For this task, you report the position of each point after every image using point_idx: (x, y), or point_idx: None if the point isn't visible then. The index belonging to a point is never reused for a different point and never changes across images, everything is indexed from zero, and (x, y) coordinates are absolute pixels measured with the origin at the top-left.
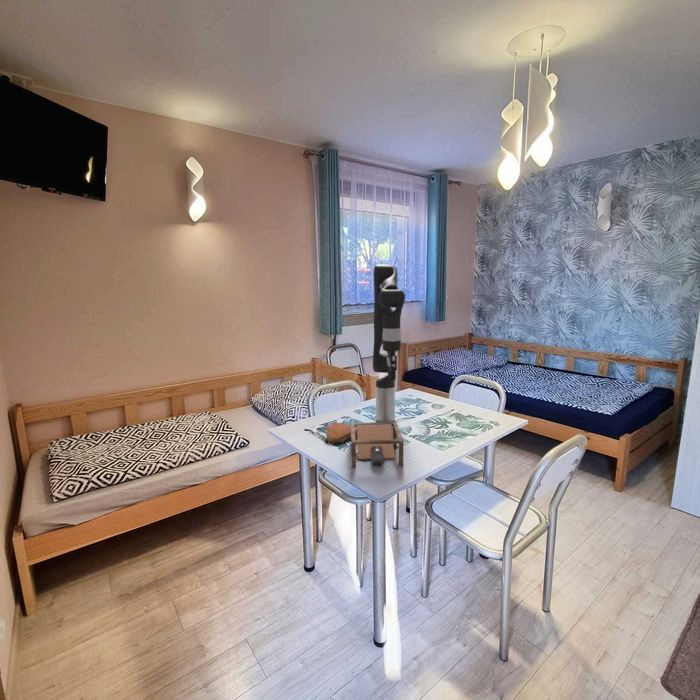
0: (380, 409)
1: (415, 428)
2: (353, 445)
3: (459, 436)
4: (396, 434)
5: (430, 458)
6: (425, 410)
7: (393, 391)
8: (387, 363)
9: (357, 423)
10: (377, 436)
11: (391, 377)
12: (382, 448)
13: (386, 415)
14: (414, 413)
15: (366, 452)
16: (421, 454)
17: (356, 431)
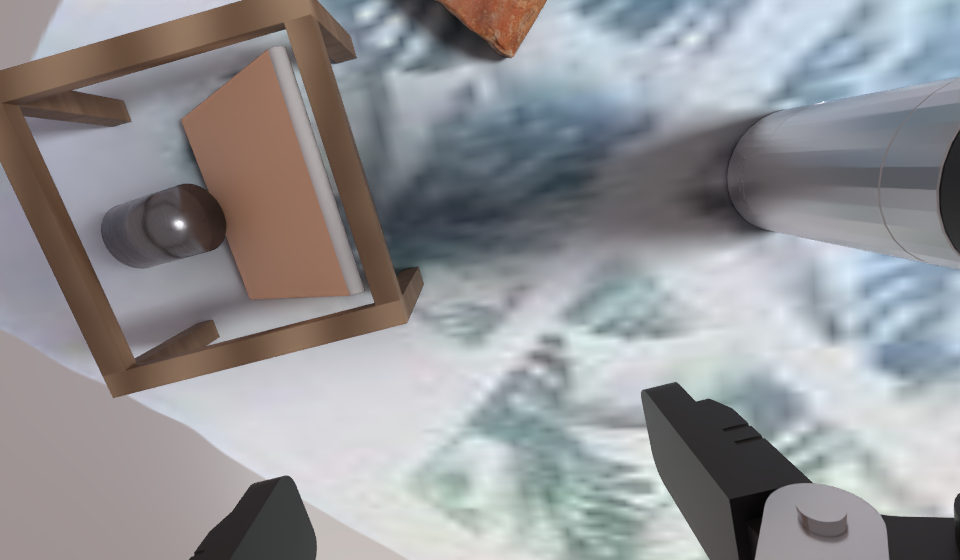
0: (789, 143)
1: (658, 357)
2: None
3: (582, 553)
4: (227, 341)
5: (315, 444)
6: (954, 391)
7: (936, 262)
8: (853, 542)
9: (307, 43)
10: (276, 209)
11: (207, 537)
12: (198, 251)
13: (755, 189)
14: (901, 334)
15: (209, 158)
16: (344, 406)
17: (472, 30)
